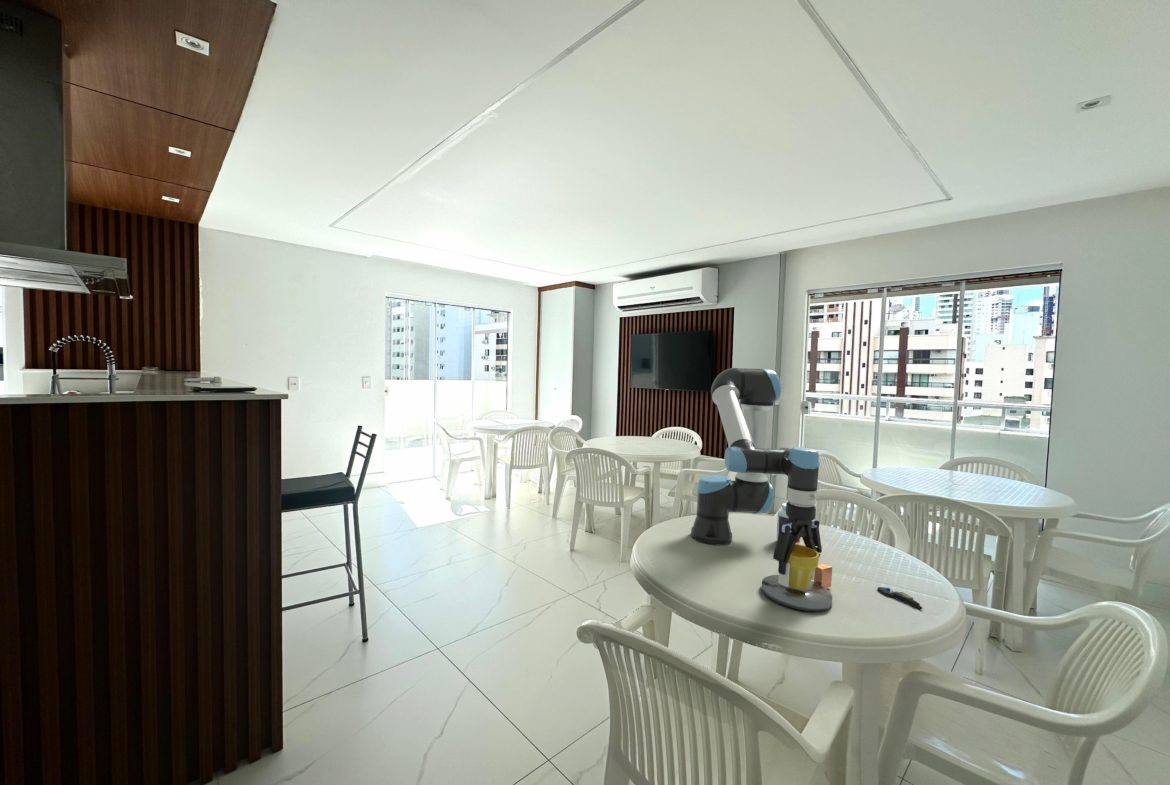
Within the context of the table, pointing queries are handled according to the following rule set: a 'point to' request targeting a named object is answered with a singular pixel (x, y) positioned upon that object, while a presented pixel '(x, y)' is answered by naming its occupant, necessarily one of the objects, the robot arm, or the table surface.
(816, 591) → the grey round piece
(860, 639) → the table surface
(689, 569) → the table surface
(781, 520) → the pill bottle
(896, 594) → the micrometer
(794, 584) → the plant pot
